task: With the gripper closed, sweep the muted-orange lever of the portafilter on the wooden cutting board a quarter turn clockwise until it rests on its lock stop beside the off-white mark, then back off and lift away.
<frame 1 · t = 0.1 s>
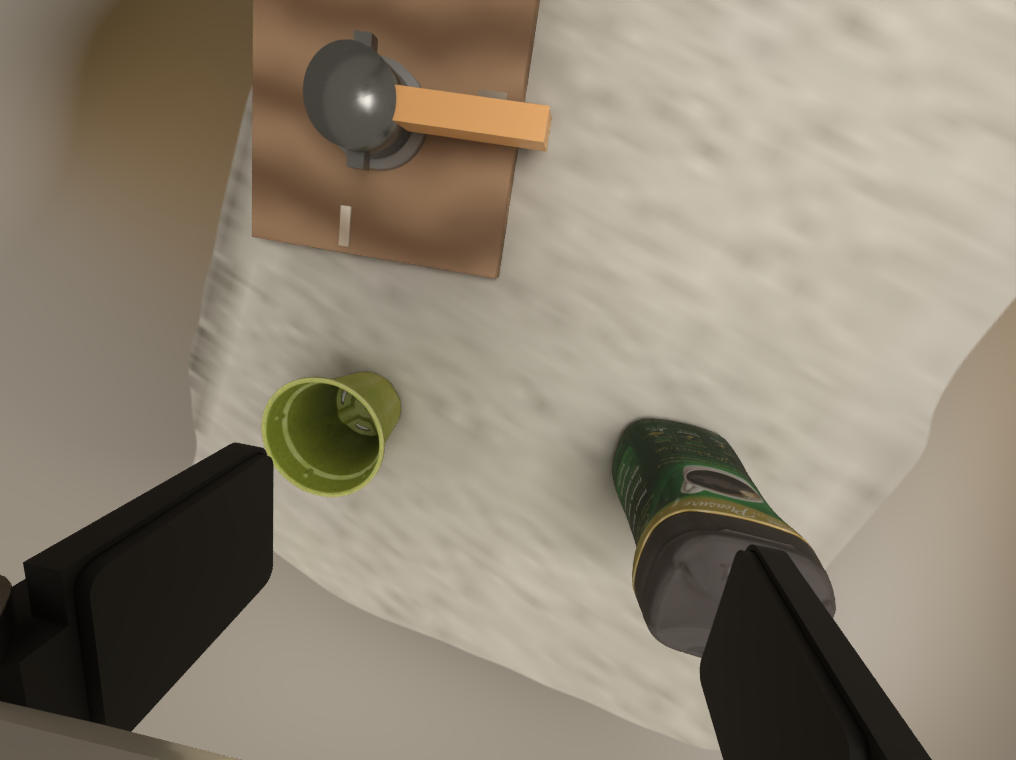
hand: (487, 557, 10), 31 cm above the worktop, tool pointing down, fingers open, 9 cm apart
portafilter: (431, 114, 31), point 5 cm above the worktop, hinge at 0.0°
plant pot: (370, 402, 44), on the worktop
wooden cutting board: (391, 123, 37), on the worktop
coffee jar: (669, 461, 41), on the worktop
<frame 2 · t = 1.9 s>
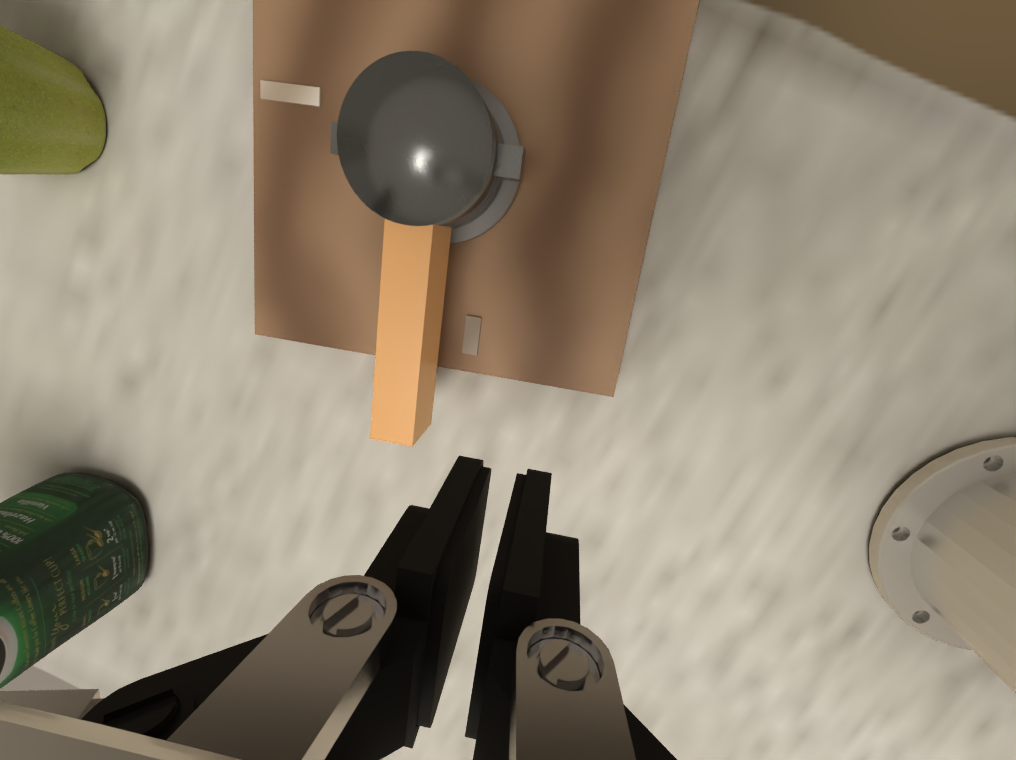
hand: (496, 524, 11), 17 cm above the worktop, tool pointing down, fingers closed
portafilter: (417, 268, 21), point 5 cm above the worktop, hinge at 0.0°
plant pot: (64, 117, 27), on the worktop
wooden cutting board: (457, 171, 25), on the worktop
coffee jar: (108, 528, 35), on the worktop
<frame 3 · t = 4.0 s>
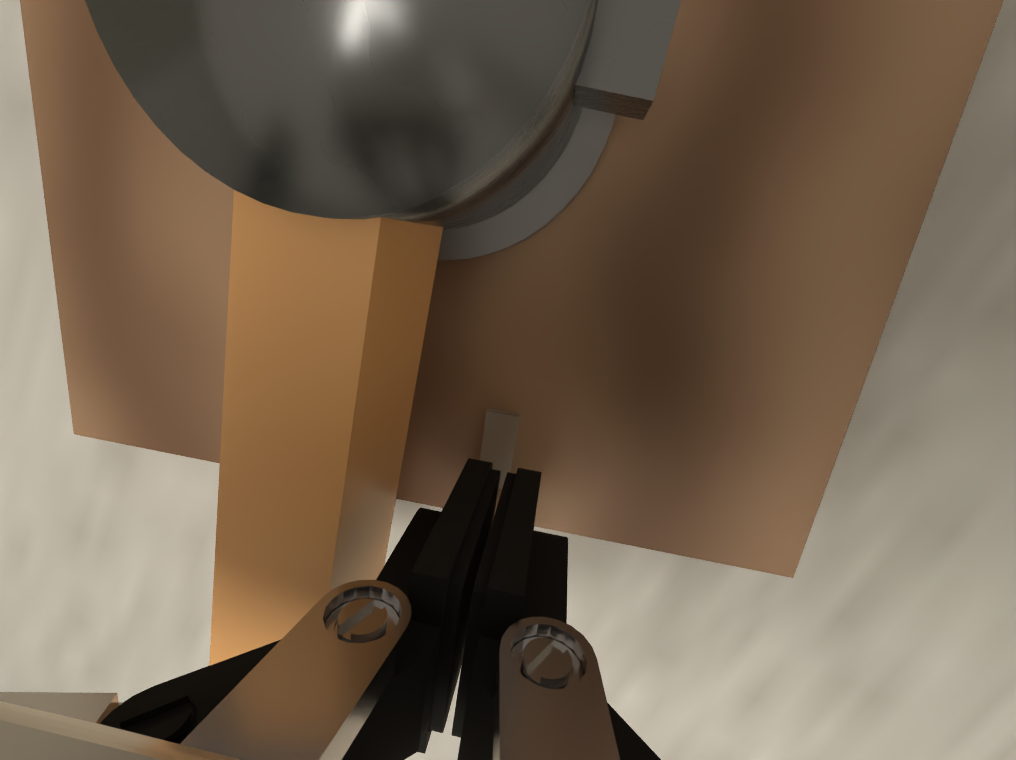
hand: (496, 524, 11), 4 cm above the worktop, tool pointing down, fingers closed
portafilter: (348, 325, 8), point 5 cm above the worktop, hinge at 4.6°, touching gripper
wooden cutting board: (466, 109, 12), on the worktop
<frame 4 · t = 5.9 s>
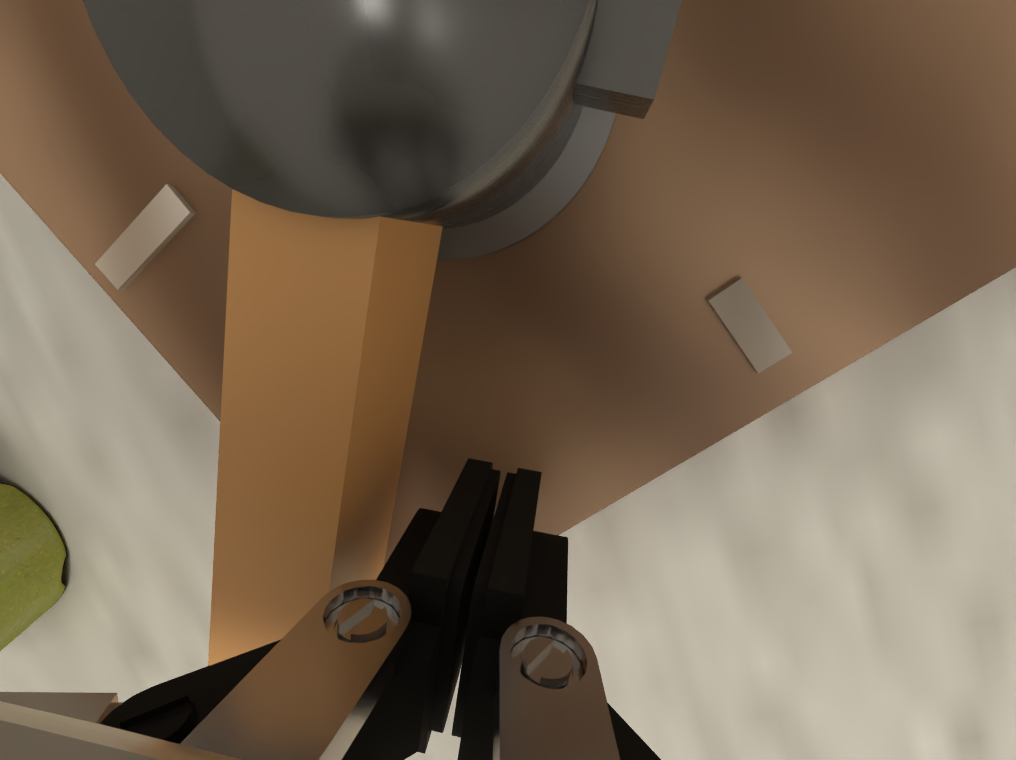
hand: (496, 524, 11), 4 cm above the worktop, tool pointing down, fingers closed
portafilter: (347, 324, 8), point 5 cm above the worktop, hinge at 50.3°, touching gripper
plant pot: (7, 539, 18), on the worktop
wooden cutting board: (466, 108, 12), on the worktop
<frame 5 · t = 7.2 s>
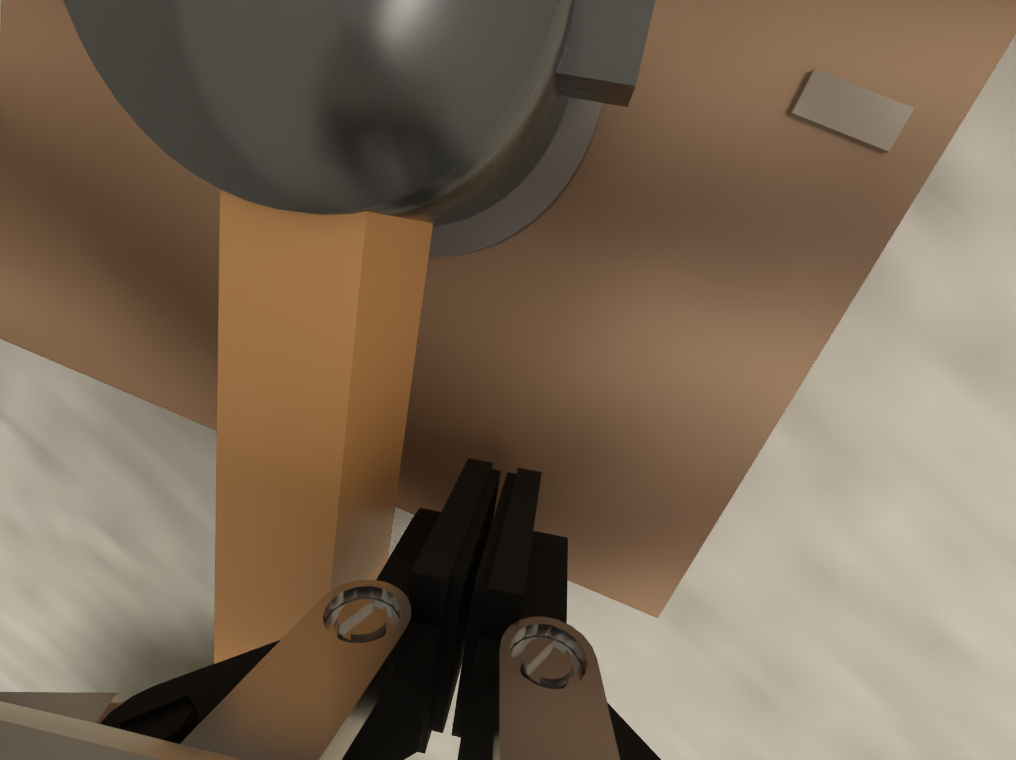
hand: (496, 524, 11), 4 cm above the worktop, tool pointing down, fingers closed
portafilter: (341, 323, 8), point 5 cm above the worktop, hinge at 79.3°, touching gripper
wooden cutting board: (454, 107, 12), on the worktop
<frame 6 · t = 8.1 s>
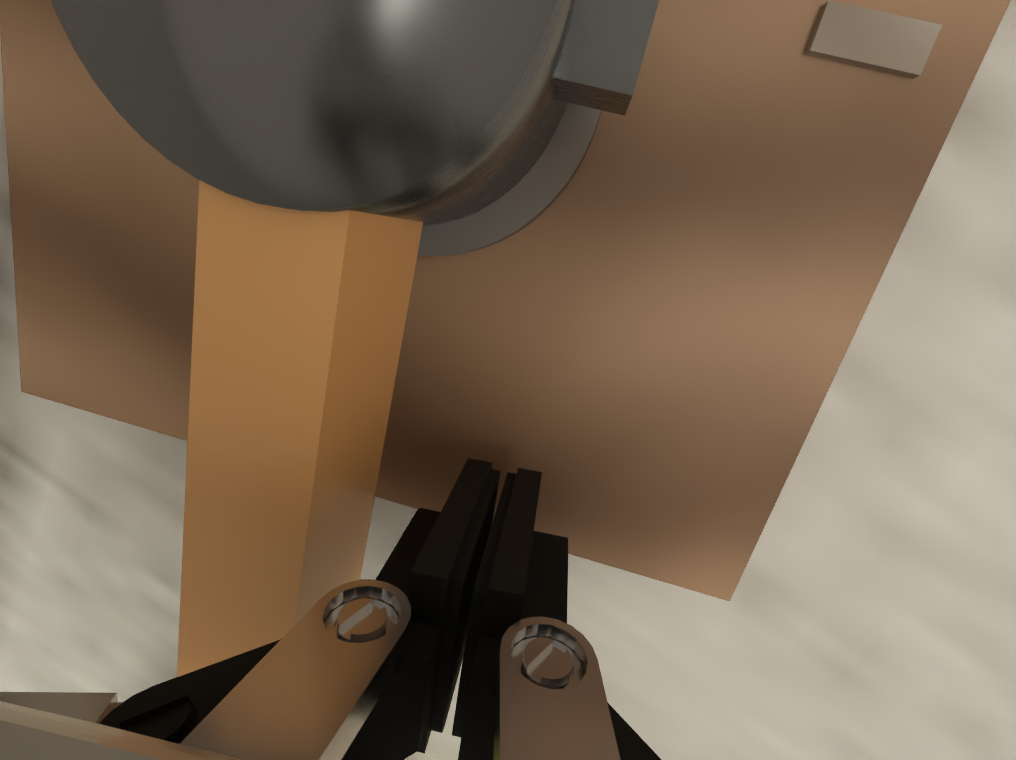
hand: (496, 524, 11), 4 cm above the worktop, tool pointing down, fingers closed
portafilter: (323, 320, 8), point 5 cm above the worktop, hinge at 89.7°
wooden cutting board: (454, 103, 12), on the worktop
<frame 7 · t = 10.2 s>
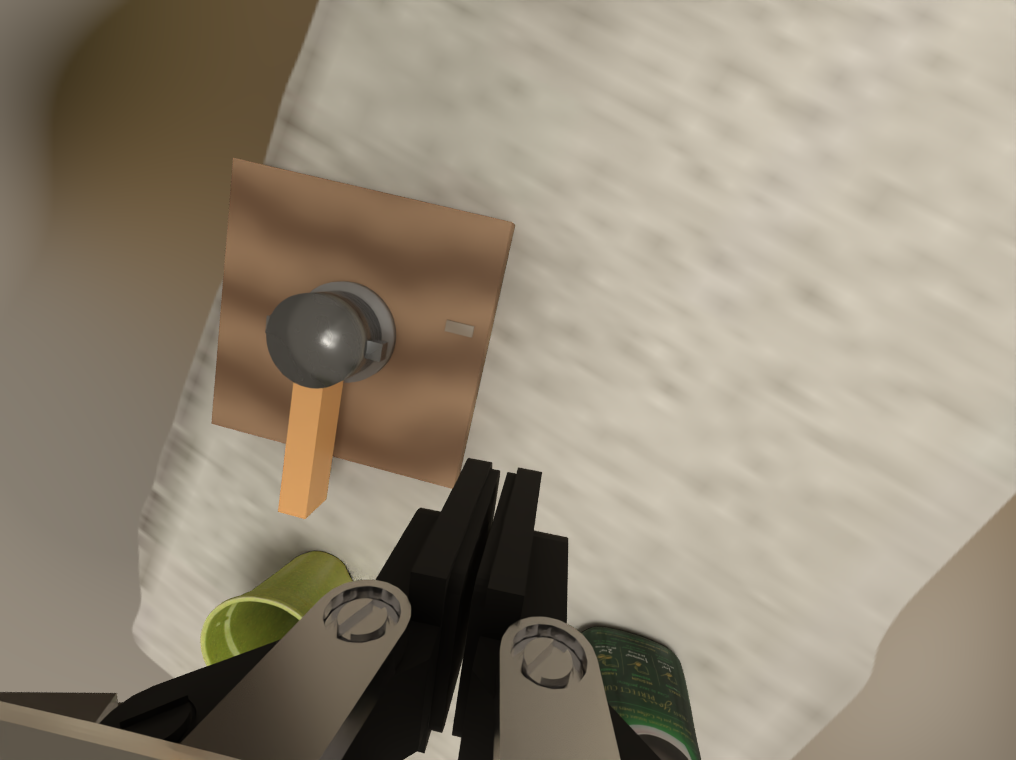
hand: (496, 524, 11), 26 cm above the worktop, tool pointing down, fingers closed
portafilter: (317, 404, 33), point 5 cm above the worktop, hinge at 89.8°
plant pot: (322, 578, 43), on the worktop
wooden cutting board: (360, 328, 37), on the worktop
coffee jar: (620, 664, 41), on the worktop
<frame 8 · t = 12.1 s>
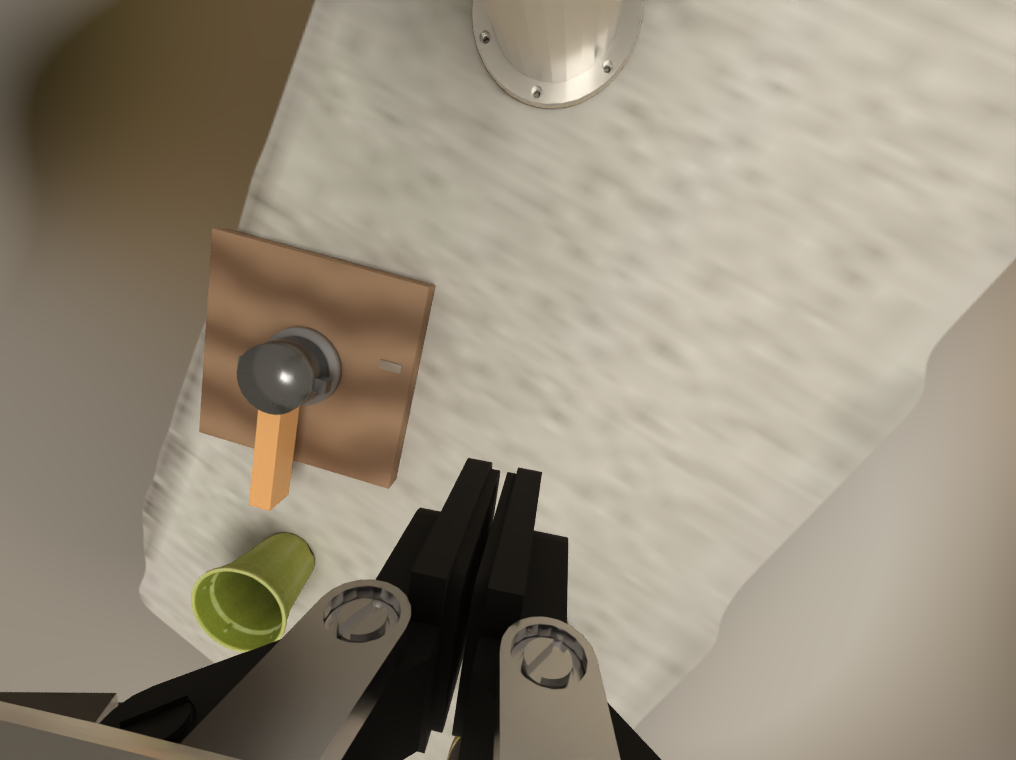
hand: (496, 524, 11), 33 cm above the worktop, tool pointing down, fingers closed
portafilter: (279, 423, 43), point 5 cm above the worktop, hinge at 89.8°
plant pot: (290, 554, 53), on the worktop
wooden cutting board: (316, 360, 46), on the worktop
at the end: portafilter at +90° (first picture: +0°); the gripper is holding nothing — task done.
